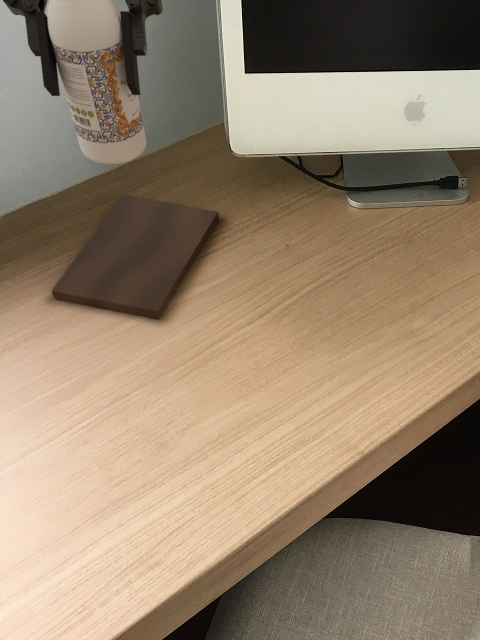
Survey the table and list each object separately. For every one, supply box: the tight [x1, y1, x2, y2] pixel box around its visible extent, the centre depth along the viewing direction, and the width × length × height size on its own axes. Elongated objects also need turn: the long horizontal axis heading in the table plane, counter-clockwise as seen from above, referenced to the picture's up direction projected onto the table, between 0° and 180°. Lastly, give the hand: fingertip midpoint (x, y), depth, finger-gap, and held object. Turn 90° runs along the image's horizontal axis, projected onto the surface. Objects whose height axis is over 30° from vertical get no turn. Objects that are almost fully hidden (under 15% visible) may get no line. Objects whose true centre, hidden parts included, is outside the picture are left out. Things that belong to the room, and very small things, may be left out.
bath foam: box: [47, 0, 147, 165], centre depth 76 cm, size 7×7×20 cm
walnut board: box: [51, 194, 220, 320], centre depth 96 cm, size 13×20×1 cm, turn 167°
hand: (93, 90), depth 76 cm, fingers closed on bath foam, 7 cm apart
